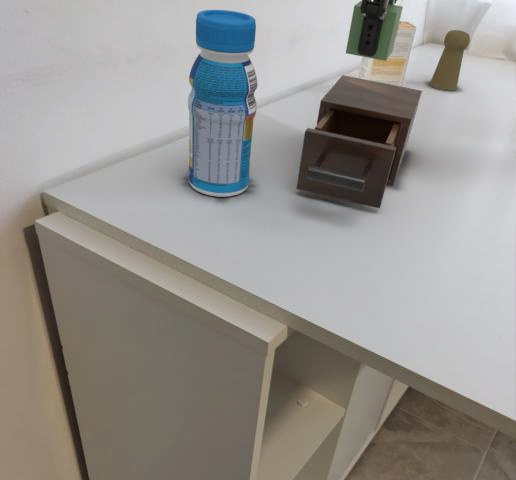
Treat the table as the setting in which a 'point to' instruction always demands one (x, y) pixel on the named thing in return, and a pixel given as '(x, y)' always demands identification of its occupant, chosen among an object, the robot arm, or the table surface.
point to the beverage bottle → (222, 103)
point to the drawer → (348, 157)
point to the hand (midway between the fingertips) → (370, 49)
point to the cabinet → (376, 108)
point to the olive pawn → (450, 61)
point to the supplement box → (391, 59)
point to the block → (386, 34)
